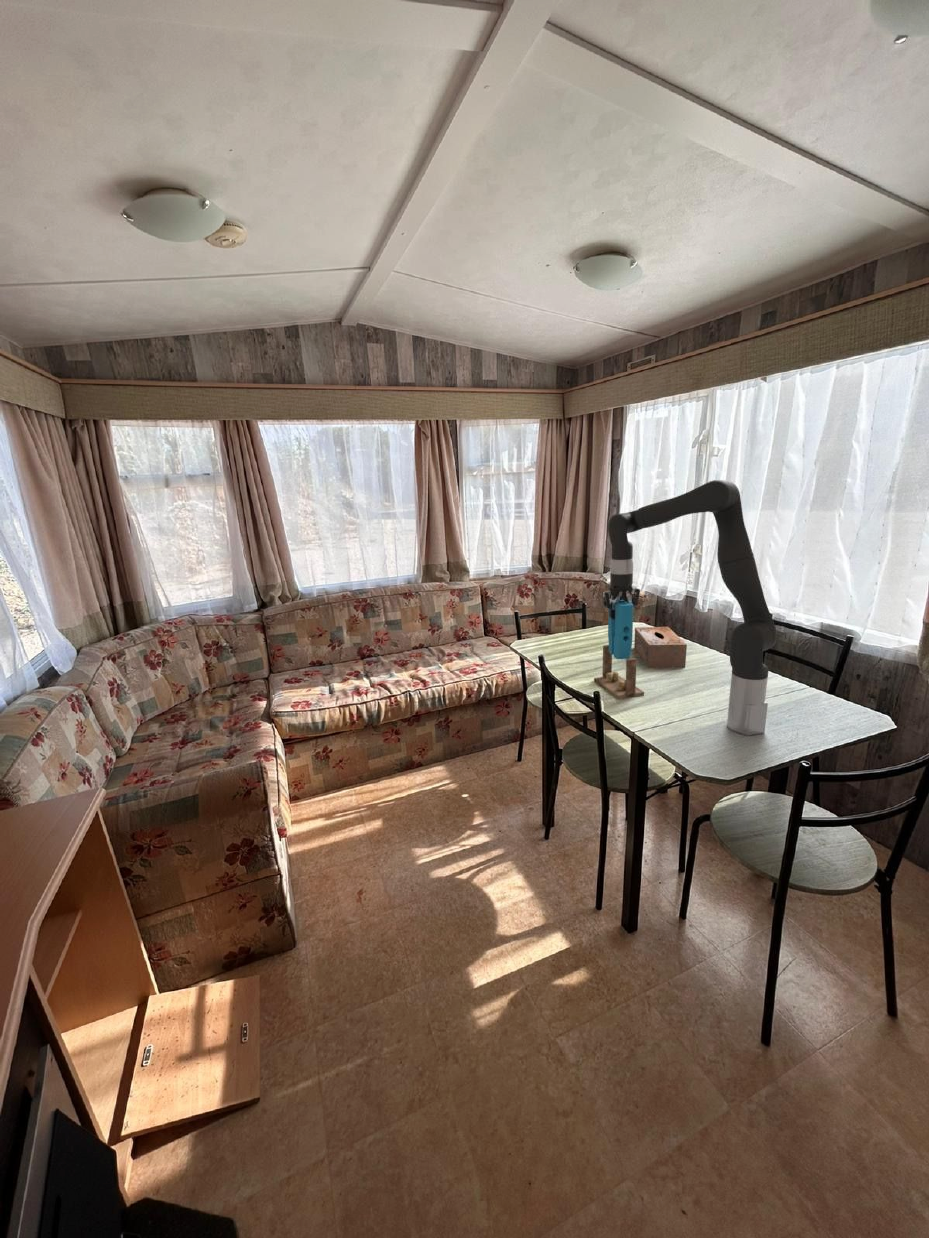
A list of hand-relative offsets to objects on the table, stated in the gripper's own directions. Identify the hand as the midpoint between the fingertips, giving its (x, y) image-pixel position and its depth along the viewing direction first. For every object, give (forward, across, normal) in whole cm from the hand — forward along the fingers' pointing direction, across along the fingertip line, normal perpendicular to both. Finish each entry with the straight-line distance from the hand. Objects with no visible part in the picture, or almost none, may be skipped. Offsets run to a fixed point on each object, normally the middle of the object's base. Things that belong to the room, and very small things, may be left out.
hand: (620, 618), depth 176 cm
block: (+14, 0, 0) cm, 14 cm away
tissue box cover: (+27, +33, +24) cm, 49 cm away
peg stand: (+27, 0, 0) cm, 27 cm away
